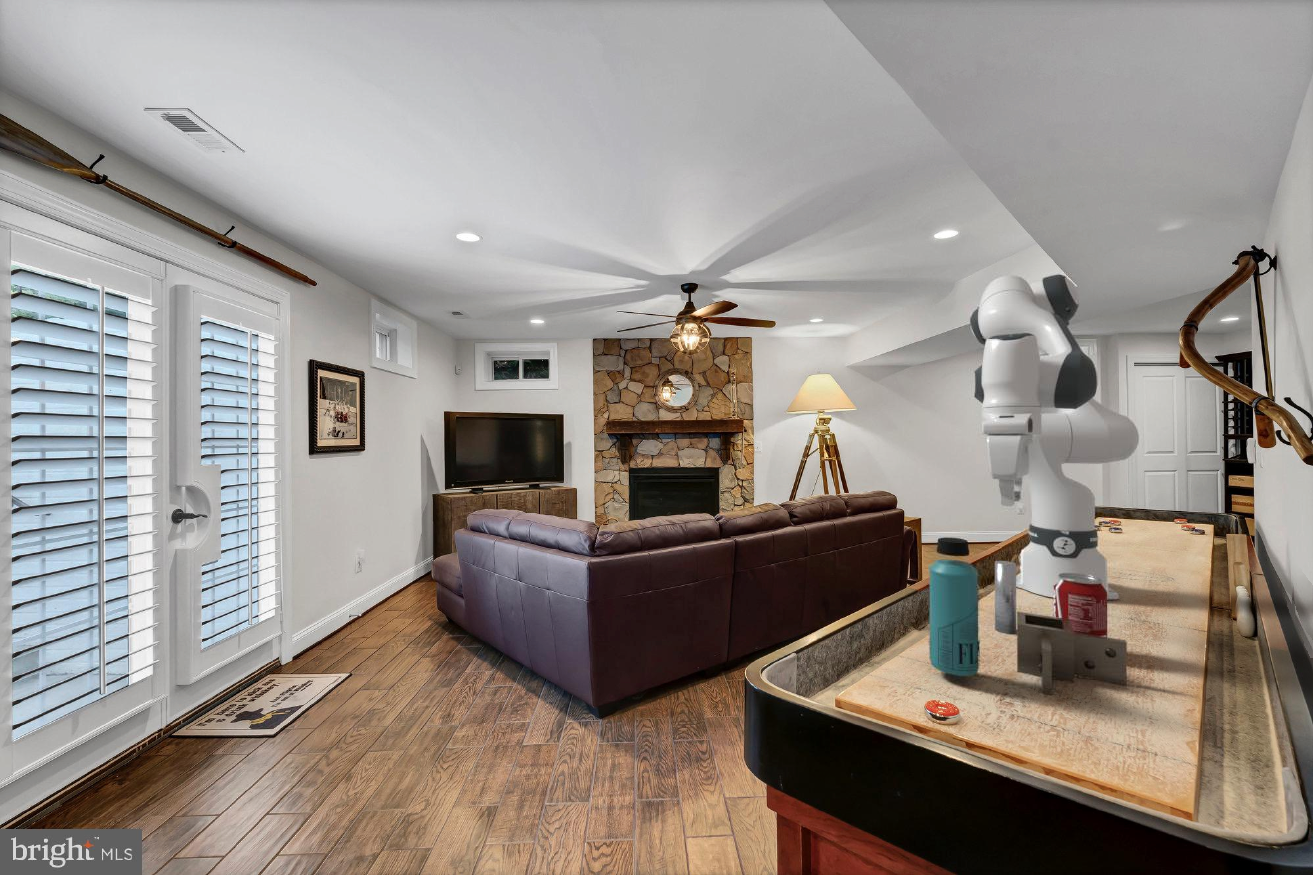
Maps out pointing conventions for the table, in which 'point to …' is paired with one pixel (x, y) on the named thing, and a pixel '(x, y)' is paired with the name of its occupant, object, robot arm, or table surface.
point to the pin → (1005, 597)
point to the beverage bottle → (954, 611)
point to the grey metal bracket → (1067, 652)
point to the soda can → (1081, 603)
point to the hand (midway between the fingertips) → (1011, 503)
